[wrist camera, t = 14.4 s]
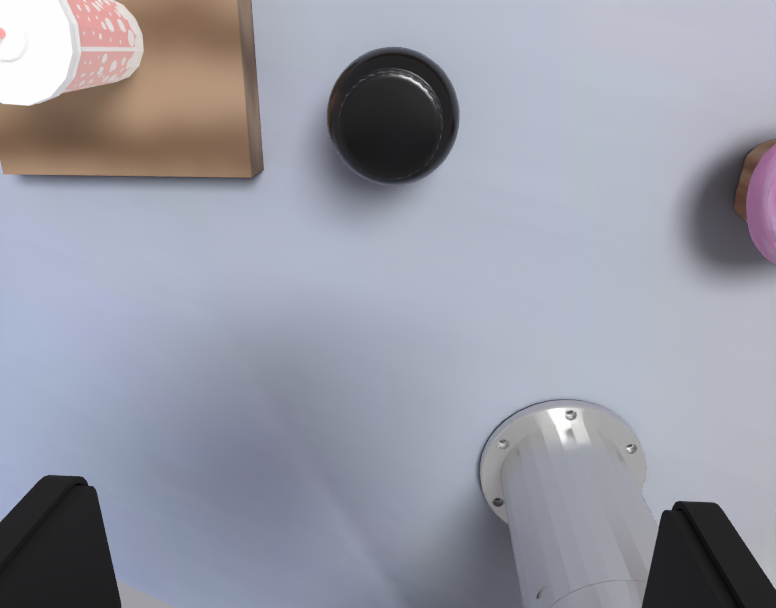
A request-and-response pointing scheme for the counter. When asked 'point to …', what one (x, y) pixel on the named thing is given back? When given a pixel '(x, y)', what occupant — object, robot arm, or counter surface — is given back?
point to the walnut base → (154, 104)
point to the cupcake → (759, 197)
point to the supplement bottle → (393, 116)
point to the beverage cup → (64, 47)
